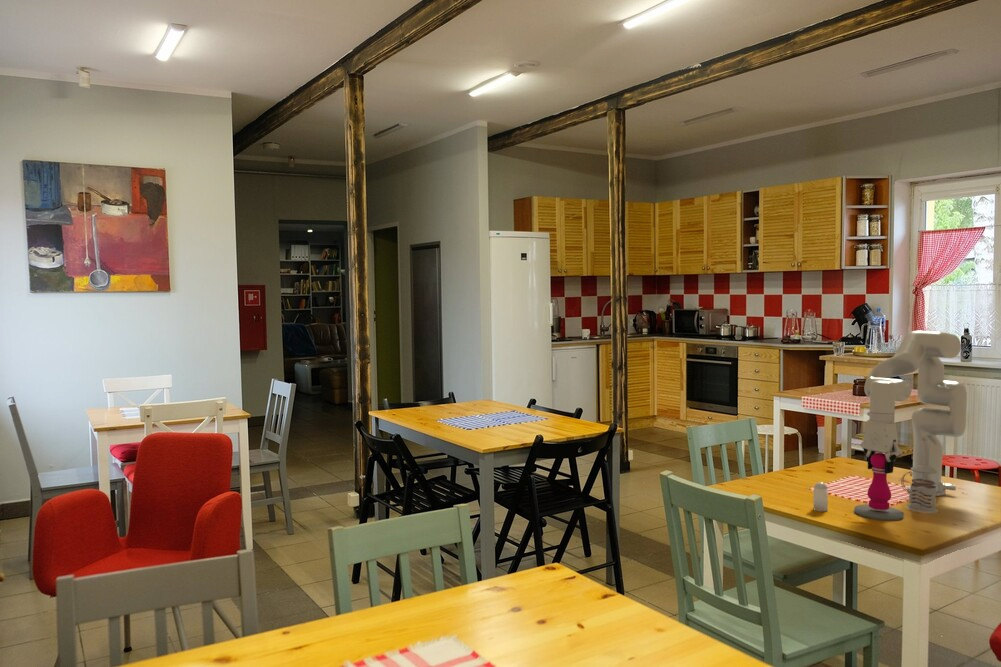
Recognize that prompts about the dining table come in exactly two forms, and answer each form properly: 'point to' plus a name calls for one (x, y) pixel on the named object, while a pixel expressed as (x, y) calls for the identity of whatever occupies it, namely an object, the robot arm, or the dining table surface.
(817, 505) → the salt shaker
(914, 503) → the french press
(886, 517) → the disc
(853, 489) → the dining table surface
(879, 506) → the pepper mill
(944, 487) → the robot arm
